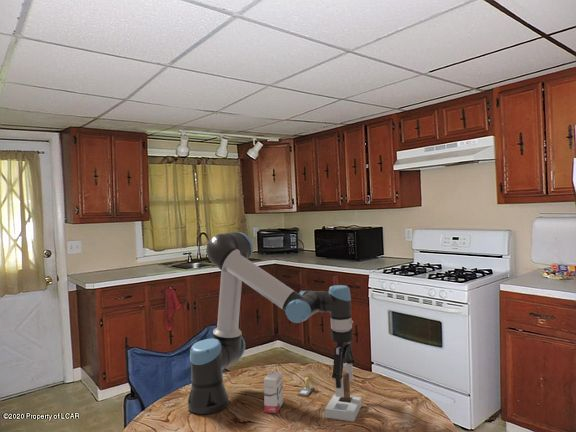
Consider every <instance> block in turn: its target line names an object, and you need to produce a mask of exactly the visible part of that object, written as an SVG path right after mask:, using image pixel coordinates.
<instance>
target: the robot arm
mask: <svg viewBox="0 0 576 432" xmlns="http://www.w3.org/2000/svg"><path fill="white" fill-rule="evenodd" d="M253 244H254V243H253V241H252V240H251V238H250V237H249V235H247V234H245V233H244V232H241V231H232V232H226V233H218V234H215V235H214V236H213V235H212V237H210V239H209V240H208V242H207V245H206V256H207V258H208V259H209V261H210V262H211V263H212V265H214V266H215V267H216V268H218V269H219V270H221V272H220V284H219V285H220V286H219V297H218V309H217V324H216V328H214V329H213V331H212V338H205V339H202V340H201V339H200V340H199V341H197V342H195V343H194V344H193V345H192V346H191V348H190V350H189V353H190V354H189V362H190V381H191V388H190V392H189V396H188V400H187V410H188V409H189V410H190V411H191V412H190V411H189V410H188V411H189V412H190V413H192V412H193V413H192V414H194V413H197V414H196V415H210V414H211V415H212V414H214V413H218V412H221V411H223V410H224V409H226V408H227V407H228V406H229V404H230V403H229V401H230V399H229V394H228V392H227V389H226V387H225V384H224V379H223V378H224V377H223V370H225V369H226V368H228V367H230V366H231V365H232V364H235V363H236V362H238V361H239V360H240V359H241V358H242V356H243V355H244V354H245V351H246V342H245V339H244V338H243V336H242V334H243V333H242V331H241V330H240V328H239V321H240V309H241V308H240V307H241V296H242V283H244V284H245V285H247V286H248V287H250V288H251V289H252V290H254V291H255V292H257V293H259V294H260V295H261V296H262V297H264V298H266V299H267V300H268V301H270V302H271V303H273V304H275V305H276V307H278V308H280V309H281V310H283V311H284V312H285V315H286V317H287V319H288V320H289V321H290V322H292V323H295V324H299V323H302V322H305V321H307V320H308V319H309V318H310V317H312V316H313V315H314V314H317V313H329V314H330V328H331V333H330V334H331V340H332V342H334V343H336V346H335V347H334V349H333V366H332V367H333V368H332V375H331V378H332V379H334V389H335V393H334V394H336V397H344V389H343V377H342V373H343V370H344V372H346V373H349V383H350V382H351V383H353V382H354V374H353V371H354V370H353V364H355V360H354V354H353V353H354V352H353V350H352V344H351V343H352V341H353V339H354V338H353V337H354V336H353V335H354V334H353V330H352V328H353V323H354V320H352V298H351V296H352V295H351V290H350V287H349V286H348V285H342V284H341V285H340V284H336V285H331V286H330V287H329V289H328V291H325V290H301V291H299V293H298V292H297V291H295V290H294V289H292V288H291V287H290V286H287V285H286V284H285V283H284V282H282V281H281V280H279V279H277V278H276V277H274V276H273V275H272V274H270V273H269V272H267V271H266V270H264V269H263V268H261V267H260V266H259V265H257V264H255V263H253V262H252V261H251V260H249V258H250V257H251V256H252V254H253V251H254V245H253Z"/></svg>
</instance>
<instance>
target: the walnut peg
mask: <svg viewBox="0 0 576 432" xmlns="http://www.w3.org/2000/svg"><path fill="white" fill-rule="evenodd" d="M342 377H343V389H344V397H341V402H349V403H350V396H351V388H350V387H351V386H350V382H349V373H346V372H345V371H344V372H342Z"/></svg>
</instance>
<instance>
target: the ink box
mask: <svg viewBox="0 0 576 432" xmlns="http://www.w3.org/2000/svg"><path fill="white" fill-rule="evenodd" d="M263 397H264V398H263V399H264V400H263V403H264V405H263V406H264V408H263V409H264V413H268V414H269V413H270V414H272V413H273V414H278V412H279V410H280V409H281V407H282V406H283V403H284V390H283V372H282V371H276V370H275V371H274V370H273V371H271V370H270V371H269V372H268V373H267V375H265V377H264V379H263Z"/></svg>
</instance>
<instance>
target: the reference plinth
mask: <svg viewBox="0 0 576 432" xmlns="http://www.w3.org/2000/svg"><path fill="white" fill-rule="evenodd" d="M314 388H315V386H311V385H310V377H308V376H306V377H304V385H303V387H302V388H301V389H300V390H299V391H298V392H297V396H301V397H308V396H309V395H310V394H311V393H312V391H313V390H314Z"/></svg>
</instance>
